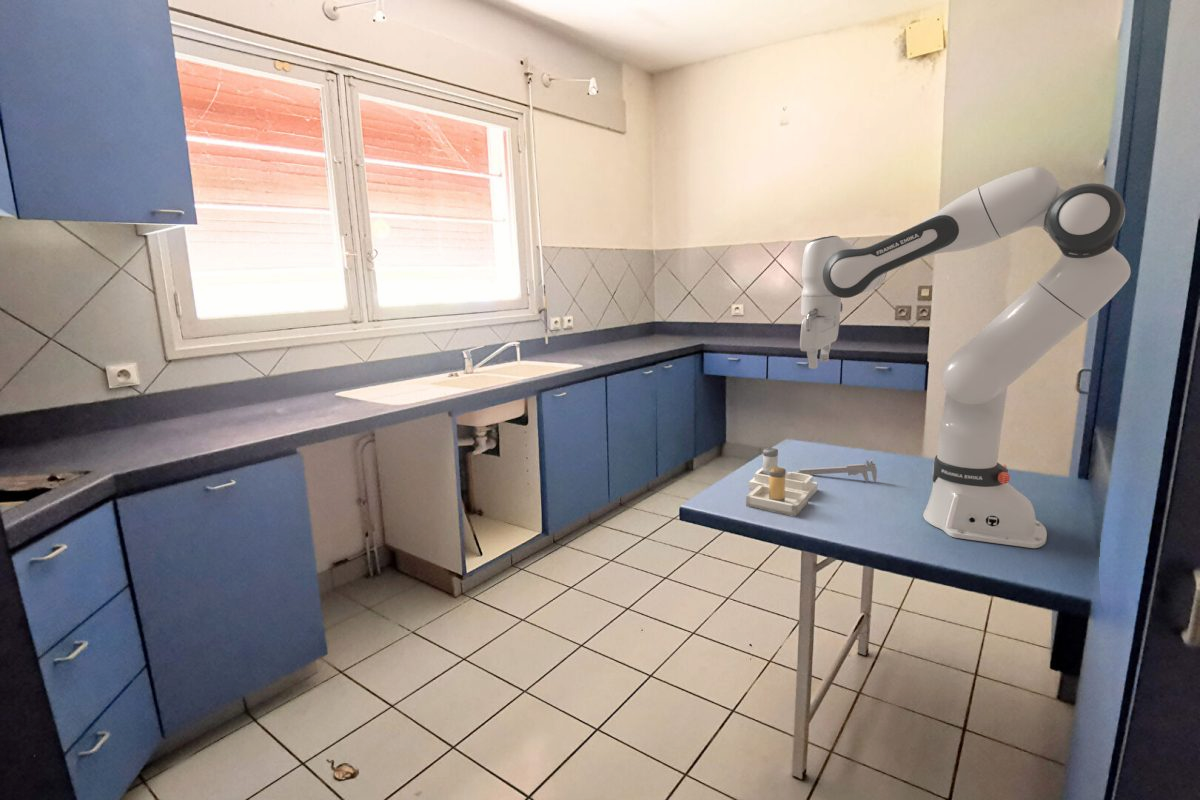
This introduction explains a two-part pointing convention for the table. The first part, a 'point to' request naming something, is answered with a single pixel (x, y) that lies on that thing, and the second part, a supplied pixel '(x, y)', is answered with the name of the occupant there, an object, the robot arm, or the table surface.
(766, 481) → the block
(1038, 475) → the table surface
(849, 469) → the caliper
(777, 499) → the fuse
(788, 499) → the parts tray
